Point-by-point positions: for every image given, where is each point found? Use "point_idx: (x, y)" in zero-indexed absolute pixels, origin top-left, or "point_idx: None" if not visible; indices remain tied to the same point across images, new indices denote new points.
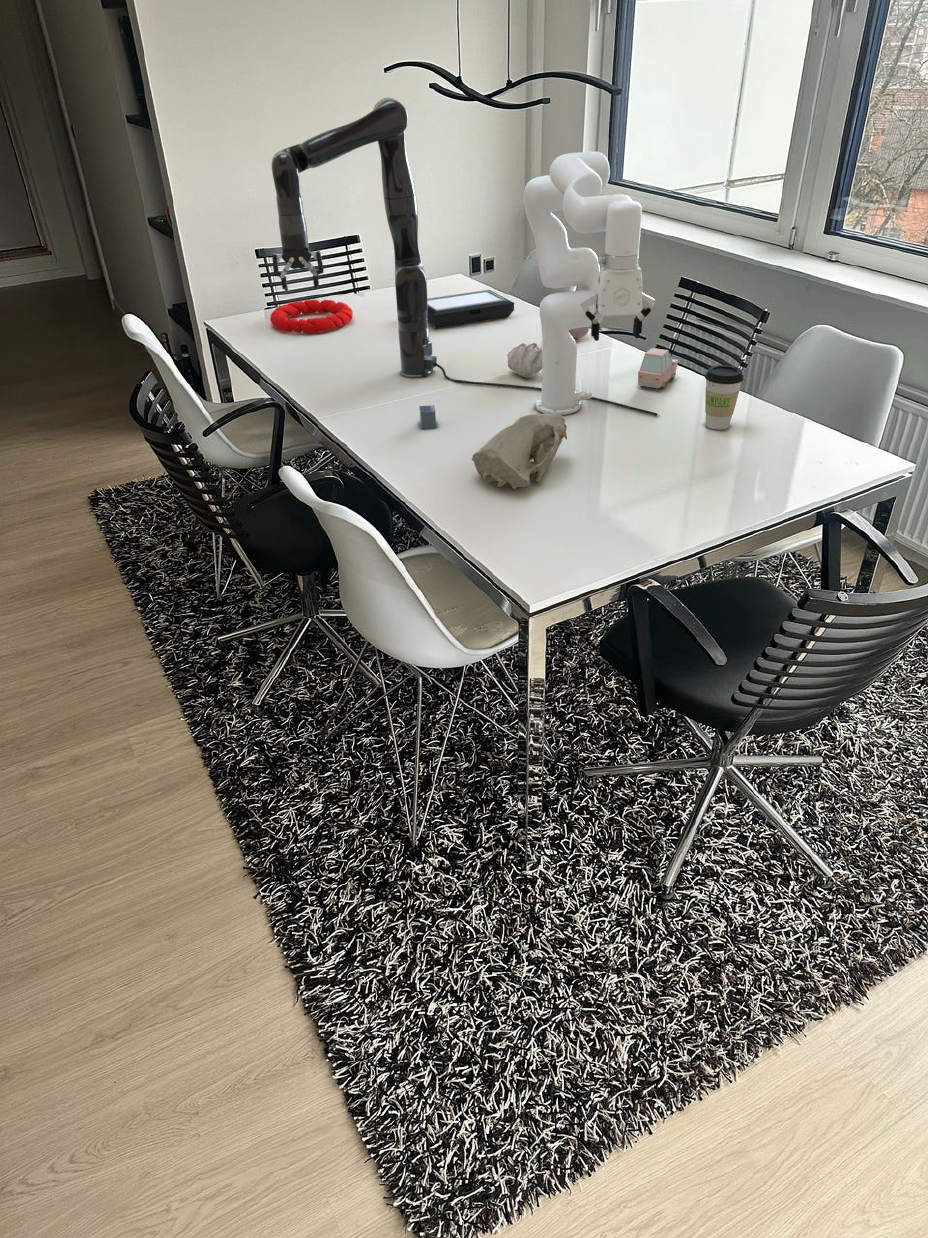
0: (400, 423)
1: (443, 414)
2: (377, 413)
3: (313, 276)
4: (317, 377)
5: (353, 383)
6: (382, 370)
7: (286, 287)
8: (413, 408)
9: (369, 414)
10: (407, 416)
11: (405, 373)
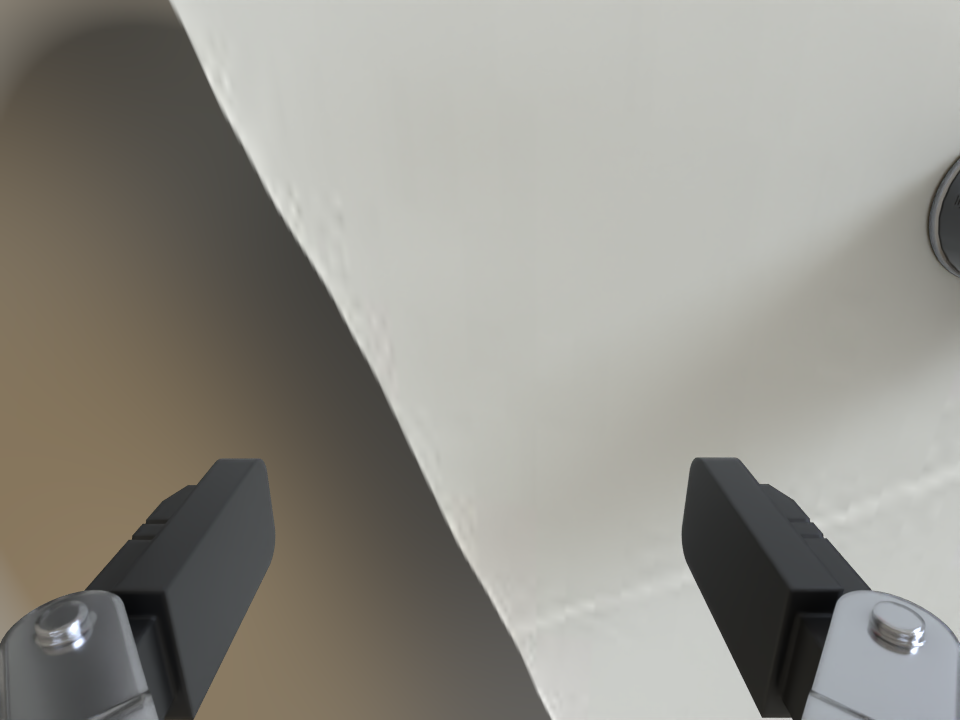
0: None
1: None
2: None
3: (776, 698)
4: (496, 181)
5: (671, 302)
6: (847, 129)
7: (250, 587)
8: None
9: (694, 626)
10: None
11: (948, 260)
